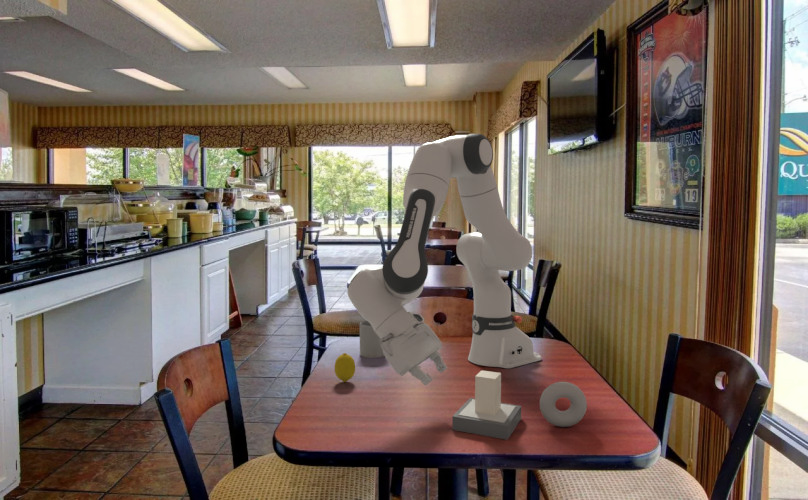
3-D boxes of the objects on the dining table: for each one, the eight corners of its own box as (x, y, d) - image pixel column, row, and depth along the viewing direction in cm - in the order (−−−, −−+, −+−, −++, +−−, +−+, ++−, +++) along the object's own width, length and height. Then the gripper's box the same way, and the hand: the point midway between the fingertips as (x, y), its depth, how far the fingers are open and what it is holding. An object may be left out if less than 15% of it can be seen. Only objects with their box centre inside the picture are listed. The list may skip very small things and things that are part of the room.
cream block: (481, 405, 125) (481, 370, 125) (500, 408, 124) (501, 372, 123) (474, 412, 121) (475, 376, 121) (495, 415, 119) (495, 379, 119)
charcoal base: (469, 410, 131) (470, 397, 130) (521, 418, 126) (521, 405, 125) (452, 429, 120) (452, 415, 120) (507, 439, 115) (507, 425, 114)
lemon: (352, 386, 147) (351, 356, 147) (332, 384, 149) (331, 355, 148) (357, 379, 153) (357, 350, 152) (338, 378, 154) (338, 349, 153)
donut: (540, 429, 120) (541, 383, 119) (537, 422, 124) (538, 378, 123) (587, 430, 119) (589, 385, 118) (584, 424, 123) (585, 379, 122)
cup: (356, 352, 180) (356, 321, 179) (380, 349, 183) (380, 319, 182) (365, 359, 172) (365, 327, 171) (390, 356, 176) (389, 324, 175)
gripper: (386, 331, 119) (428, 381, 116) (423, 313, 138) (460, 356, 135) (368, 349, 122) (409, 399, 119) (407, 329, 140) (443, 372, 137)
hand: (436, 376), depth 127 cm, fingers open, 8 cm apart
